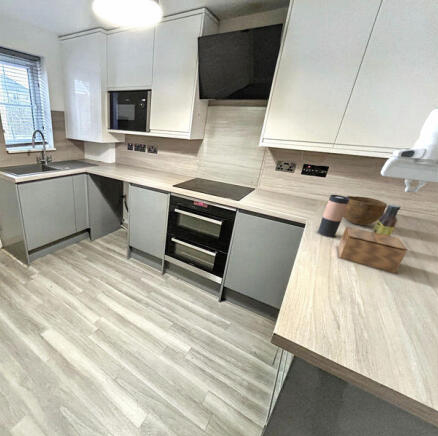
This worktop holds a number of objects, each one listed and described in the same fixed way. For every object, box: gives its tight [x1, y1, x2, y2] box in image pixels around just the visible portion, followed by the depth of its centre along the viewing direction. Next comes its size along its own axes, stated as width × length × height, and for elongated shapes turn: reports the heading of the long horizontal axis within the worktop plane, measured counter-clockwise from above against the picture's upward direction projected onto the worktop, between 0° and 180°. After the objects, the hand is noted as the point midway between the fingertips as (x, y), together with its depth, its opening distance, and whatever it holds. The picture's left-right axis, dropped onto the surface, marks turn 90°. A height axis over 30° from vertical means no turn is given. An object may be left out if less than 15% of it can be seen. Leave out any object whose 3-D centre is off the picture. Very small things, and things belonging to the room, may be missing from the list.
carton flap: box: [371, 231, 408, 251], centre depth 92 cm, size 8×13×1 cm, turn 144°
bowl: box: [343, 195, 388, 226], centre depth 137 cm, size 19×19×15 cm
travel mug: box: [317, 194, 349, 238], centre depth 117 cm, size 8×8×20 cm
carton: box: [337, 226, 408, 274], centre depth 96 cm, size 17×13×10 cm
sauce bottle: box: [372, 203, 402, 236], centre depth 109 cm, size 6×6×20 cm
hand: (410, 192), depth 88 cm, fingers closed
